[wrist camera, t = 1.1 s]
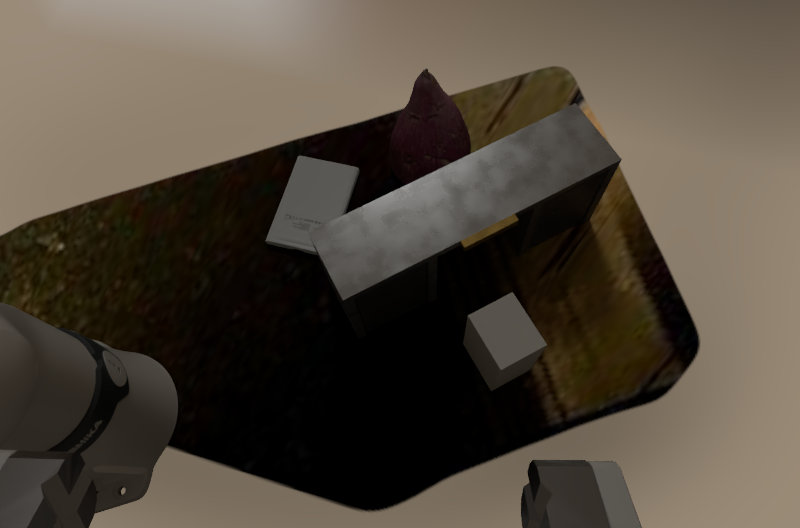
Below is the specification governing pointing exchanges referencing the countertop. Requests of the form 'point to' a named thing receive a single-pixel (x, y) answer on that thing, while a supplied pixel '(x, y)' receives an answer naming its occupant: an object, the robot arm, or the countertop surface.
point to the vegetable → (427, 132)
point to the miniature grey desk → (464, 214)
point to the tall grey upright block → (502, 341)
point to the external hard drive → (311, 201)
